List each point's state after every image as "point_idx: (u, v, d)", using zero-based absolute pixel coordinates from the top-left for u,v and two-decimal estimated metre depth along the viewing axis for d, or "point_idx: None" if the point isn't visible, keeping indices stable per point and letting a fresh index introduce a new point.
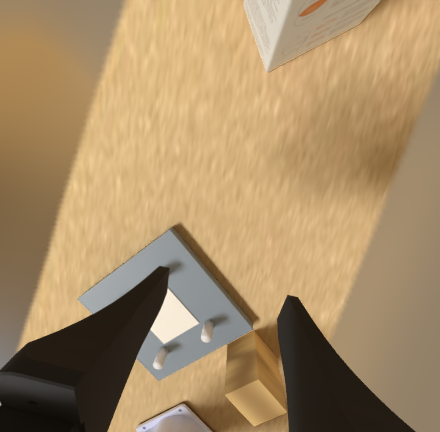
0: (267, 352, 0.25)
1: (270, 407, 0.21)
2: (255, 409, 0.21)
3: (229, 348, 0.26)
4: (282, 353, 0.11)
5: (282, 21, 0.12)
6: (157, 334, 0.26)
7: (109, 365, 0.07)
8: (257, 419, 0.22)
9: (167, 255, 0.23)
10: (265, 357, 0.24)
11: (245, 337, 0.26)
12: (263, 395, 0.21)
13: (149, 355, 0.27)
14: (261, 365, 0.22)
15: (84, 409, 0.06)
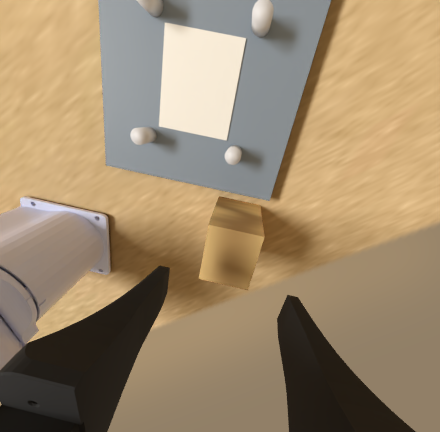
0: None
1: (238, 273, 0.16)
2: (221, 264, 0.16)
3: (221, 199, 0.20)
4: (282, 353, 0.11)
5: None
6: (163, 106, 0.17)
7: (109, 365, 0.07)
8: (211, 275, 0.17)
9: (294, 4, 0.13)
10: None
11: (246, 203, 0.20)
12: (248, 257, 0.16)
13: (124, 124, 0.18)
14: None
15: (84, 410, 0.06)
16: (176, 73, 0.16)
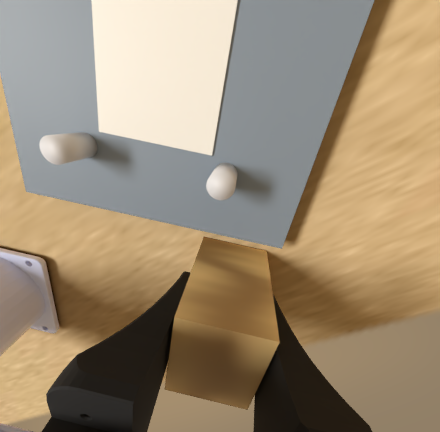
0: None
1: (231, 388, 0.09)
2: (201, 374, 0.09)
3: (207, 244, 0.13)
4: None
5: None
6: (102, 97, 0.10)
7: (152, 376, 0.07)
8: (185, 386, 0.10)
9: None
10: None
11: (246, 249, 0.13)
12: (249, 368, 0.09)
13: (44, 127, 0.11)
14: None
15: (135, 423, 0.06)
16: (120, 38, 0.09)
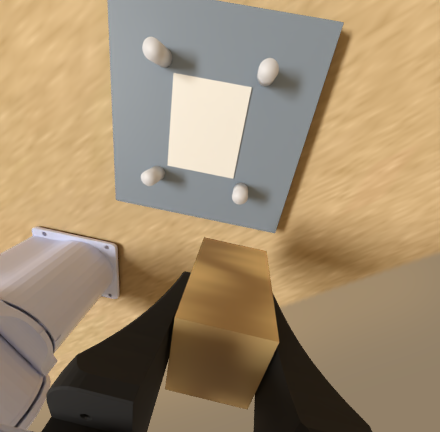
0: None
1: (231, 388, 0.10)
2: (201, 374, 0.09)
3: (207, 244, 0.13)
4: None
5: None
6: (171, 147, 0.17)
7: (152, 376, 0.07)
8: (185, 386, 0.10)
9: (297, 57, 0.14)
10: None
11: (245, 249, 0.13)
12: (249, 368, 0.09)
13: (134, 163, 0.18)
14: None
15: (135, 423, 0.06)
16: (184, 118, 0.16)
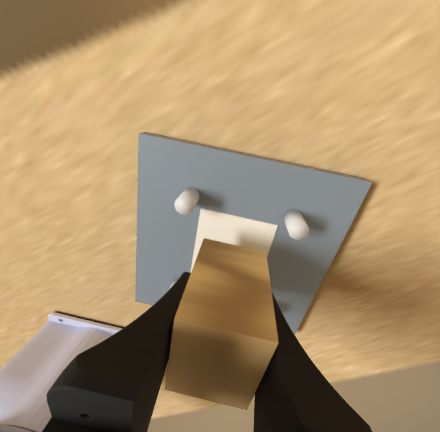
0: None
1: (231, 388, 0.10)
2: (201, 374, 0.09)
3: (207, 245, 0.13)
4: None
5: None
6: None
7: (152, 376, 0.07)
8: (185, 386, 0.10)
9: (325, 205, 0.14)
10: None
11: (245, 250, 0.13)
12: (248, 368, 0.09)
13: (156, 274, 0.18)
14: None
15: (135, 423, 0.06)
16: None
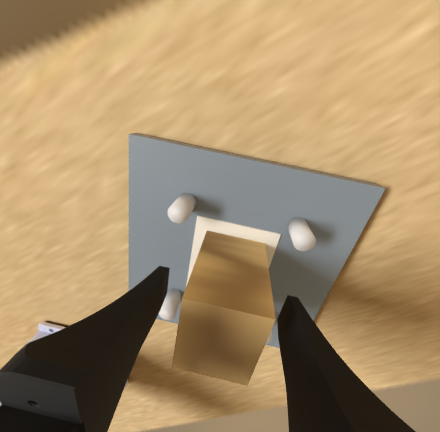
0: None
1: (232, 364, 0.10)
2: (206, 351, 0.10)
3: (210, 237, 0.14)
4: (282, 353, 0.11)
5: None
6: None
7: (109, 365, 0.07)
8: (191, 364, 0.11)
9: (332, 213, 0.13)
10: None
11: (246, 241, 0.14)
12: (248, 345, 0.10)
13: None
14: None
15: (84, 409, 0.06)
16: None
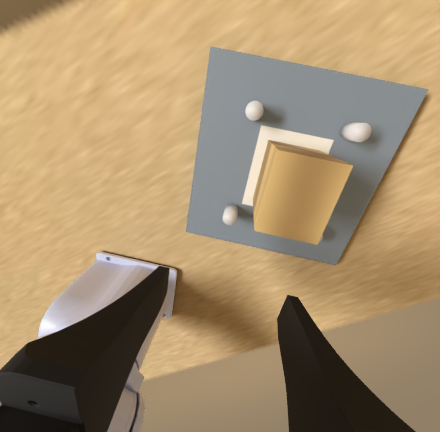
0: None
1: (308, 221, 0.13)
2: (287, 208, 0.13)
3: (274, 141, 0.16)
4: (282, 353, 0.11)
5: None
6: (248, 188, 0.19)
7: (109, 365, 0.07)
8: (272, 225, 0.13)
9: (381, 116, 0.15)
10: None
11: (303, 147, 0.16)
12: (326, 197, 0.12)
13: (209, 200, 0.20)
14: None
15: (84, 410, 0.06)
16: None
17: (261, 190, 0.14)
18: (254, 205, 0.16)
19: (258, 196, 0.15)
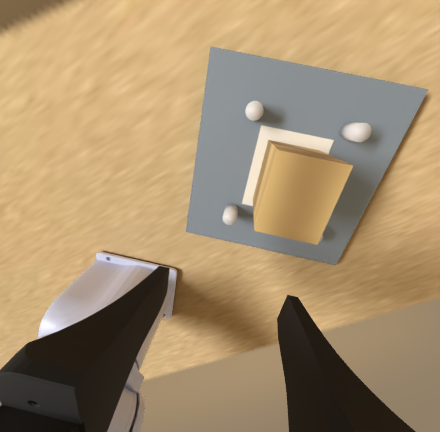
0: None
1: (308, 221, 0.13)
2: (287, 208, 0.13)
3: (274, 141, 0.16)
4: (282, 353, 0.11)
5: None
6: (248, 188, 0.19)
7: (109, 365, 0.07)
8: (272, 225, 0.13)
9: (381, 116, 0.15)
10: None
11: (303, 147, 0.16)
12: (326, 197, 0.12)
13: (209, 200, 0.20)
14: None
15: (84, 410, 0.06)
16: None
17: (261, 190, 0.14)
18: (254, 205, 0.16)
19: (258, 196, 0.15)
